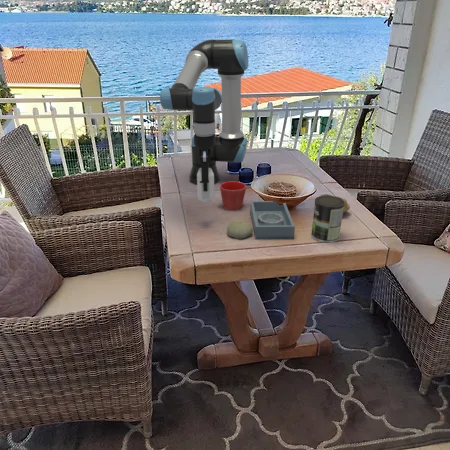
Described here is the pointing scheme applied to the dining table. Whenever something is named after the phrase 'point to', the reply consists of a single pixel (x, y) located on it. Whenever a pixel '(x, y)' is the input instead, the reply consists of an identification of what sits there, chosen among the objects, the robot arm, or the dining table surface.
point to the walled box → (271, 231)
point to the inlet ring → (270, 215)
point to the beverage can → (211, 185)
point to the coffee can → (327, 218)
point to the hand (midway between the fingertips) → (205, 194)
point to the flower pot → (232, 194)
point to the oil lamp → (346, 205)
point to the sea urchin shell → (239, 229)
